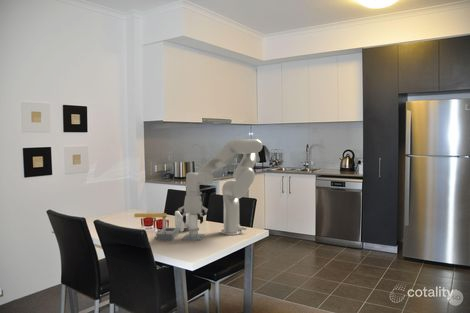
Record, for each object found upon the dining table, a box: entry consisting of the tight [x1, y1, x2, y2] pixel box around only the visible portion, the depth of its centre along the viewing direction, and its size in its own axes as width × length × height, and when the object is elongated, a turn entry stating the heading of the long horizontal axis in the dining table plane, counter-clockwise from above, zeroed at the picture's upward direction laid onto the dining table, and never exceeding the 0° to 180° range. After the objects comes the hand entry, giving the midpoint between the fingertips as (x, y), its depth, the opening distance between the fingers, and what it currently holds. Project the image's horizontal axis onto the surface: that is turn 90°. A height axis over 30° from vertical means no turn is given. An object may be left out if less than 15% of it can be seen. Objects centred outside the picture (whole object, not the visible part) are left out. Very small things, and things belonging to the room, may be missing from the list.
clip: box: [134, 212, 168, 218], centre depth 214 cm, size 3×18×2 cm, turn 89°
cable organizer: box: [174, 210, 190, 233], centre depth 239 cm, size 15×11×12 cm
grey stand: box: [155, 217, 180, 241], centre depth 222 cm, size 9×16×13 cm, turn 174°
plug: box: [187, 214, 200, 237], centre depth 221 cm, size 6×6×13 cm
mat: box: [180, 233, 205, 241], centre depth 221 cm, size 11×12×1 cm
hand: (193, 223), depth 221 cm, fingers open, 9 cm apart
